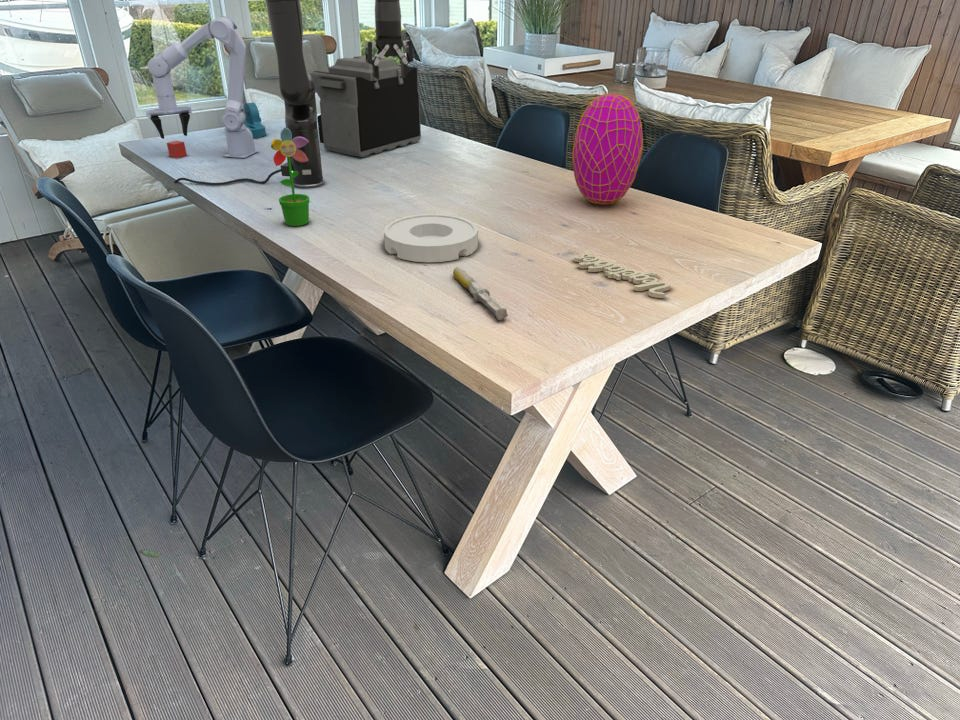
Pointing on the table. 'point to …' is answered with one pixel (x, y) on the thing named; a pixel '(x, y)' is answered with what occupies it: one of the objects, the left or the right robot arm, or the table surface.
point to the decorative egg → (607, 148)
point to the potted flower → (291, 178)
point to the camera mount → (253, 120)
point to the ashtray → (431, 237)
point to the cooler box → (367, 106)
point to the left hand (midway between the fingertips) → (174, 136)
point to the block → (176, 149)
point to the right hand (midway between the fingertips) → (390, 78)
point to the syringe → (479, 293)
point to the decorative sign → (625, 274)
